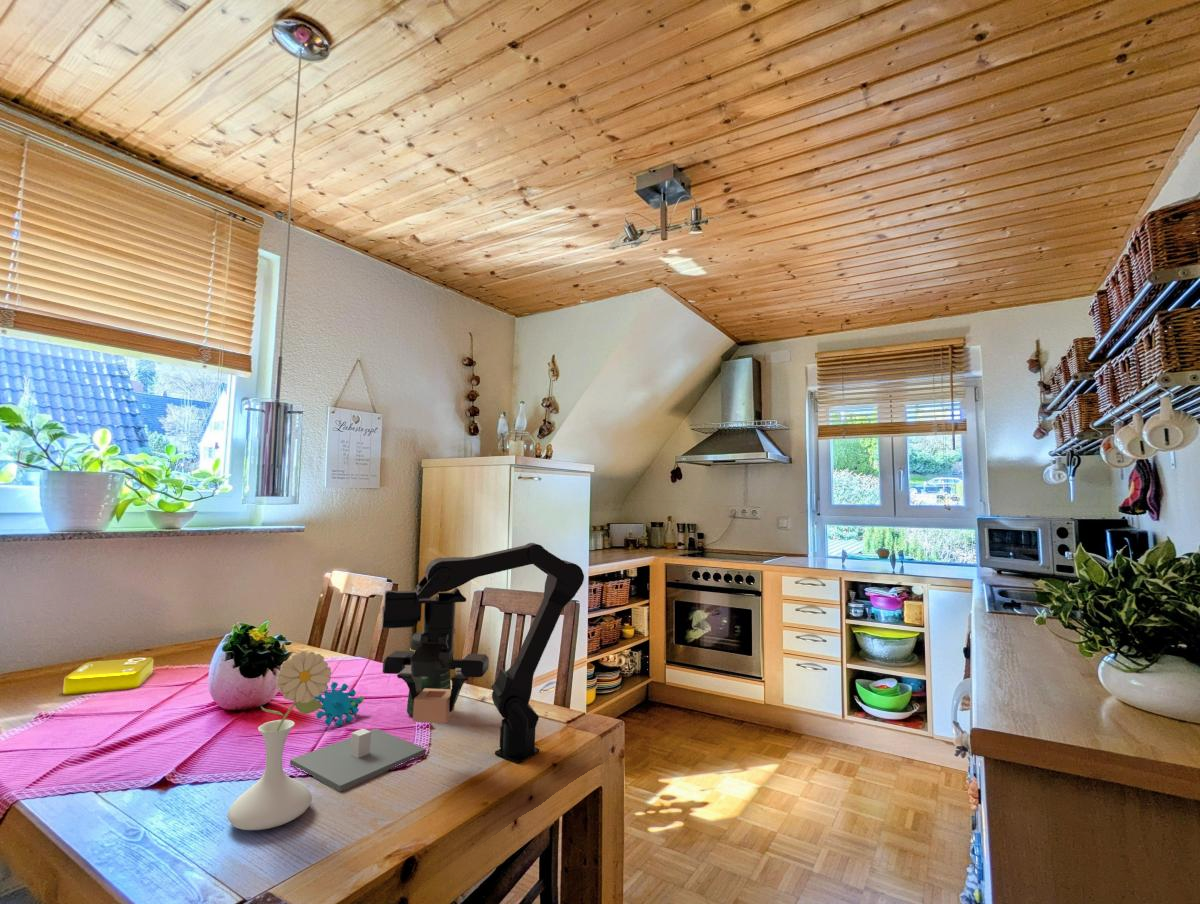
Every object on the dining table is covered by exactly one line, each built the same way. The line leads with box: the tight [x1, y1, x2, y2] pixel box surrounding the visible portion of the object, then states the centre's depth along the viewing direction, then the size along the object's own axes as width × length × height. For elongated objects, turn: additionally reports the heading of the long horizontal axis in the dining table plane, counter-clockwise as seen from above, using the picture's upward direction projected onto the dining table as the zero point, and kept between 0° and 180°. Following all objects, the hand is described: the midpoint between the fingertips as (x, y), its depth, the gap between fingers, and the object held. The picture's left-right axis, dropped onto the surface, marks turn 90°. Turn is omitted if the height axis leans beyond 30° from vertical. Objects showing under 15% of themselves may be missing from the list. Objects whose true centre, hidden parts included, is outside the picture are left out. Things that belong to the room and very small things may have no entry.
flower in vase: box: [226, 650, 332, 831], centre depth 90 cm, size 13×11×25 cm
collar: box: [412, 688, 456, 724], centre depth 107 cm, size 6×6×4 cm
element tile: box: [62, 657, 155, 695], centre depth 147 cm, size 15×15×5 cm
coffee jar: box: [406, 630, 455, 717], centre depth 133 cm, size 10×8×19 cm
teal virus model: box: [314, 681, 365, 727], centre depth 128 cm, size 11×6×10 cm
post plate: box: [289, 728, 427, 793], centre depth 109 cm, size 16×18×5 cm
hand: (434, 710), depth 107 cm, fingers closed on collar, 6 cm apart
